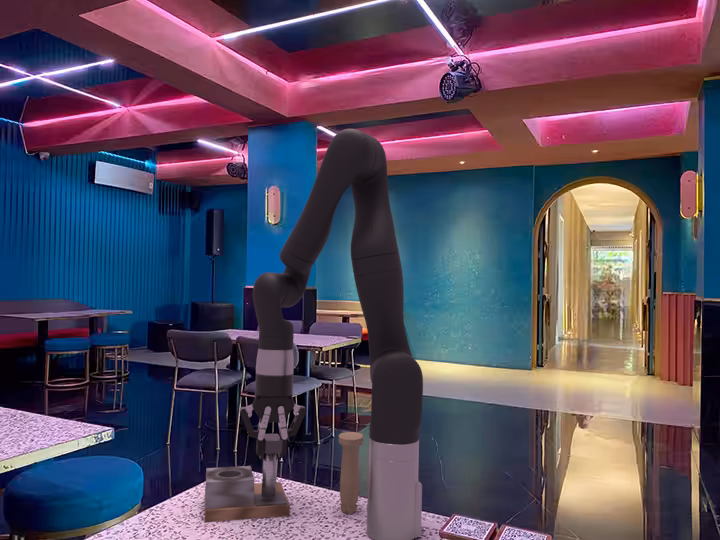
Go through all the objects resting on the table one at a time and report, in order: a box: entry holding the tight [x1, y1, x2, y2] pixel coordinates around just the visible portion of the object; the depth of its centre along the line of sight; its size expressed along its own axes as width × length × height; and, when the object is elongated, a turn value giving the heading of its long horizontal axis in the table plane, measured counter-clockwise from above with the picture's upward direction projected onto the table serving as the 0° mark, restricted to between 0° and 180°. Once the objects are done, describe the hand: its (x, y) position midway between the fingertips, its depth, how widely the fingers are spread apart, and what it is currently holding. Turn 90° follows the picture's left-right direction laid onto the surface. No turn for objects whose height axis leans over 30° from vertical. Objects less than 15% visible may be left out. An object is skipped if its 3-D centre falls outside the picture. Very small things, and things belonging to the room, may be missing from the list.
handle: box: [338, 431, 364, 514], centre depth 112 cm, size 5×6×15 cm
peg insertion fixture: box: [204, 465, 291, 523], centre depth 113 cm, size 16×14×7 cm
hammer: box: [261, 433, 282, 498], centre depth 111 cm, size 7×3×11 cm, turn 16°
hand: (271, 457), depth 111 cm, fingers closed on hammer, 3 cm apart
